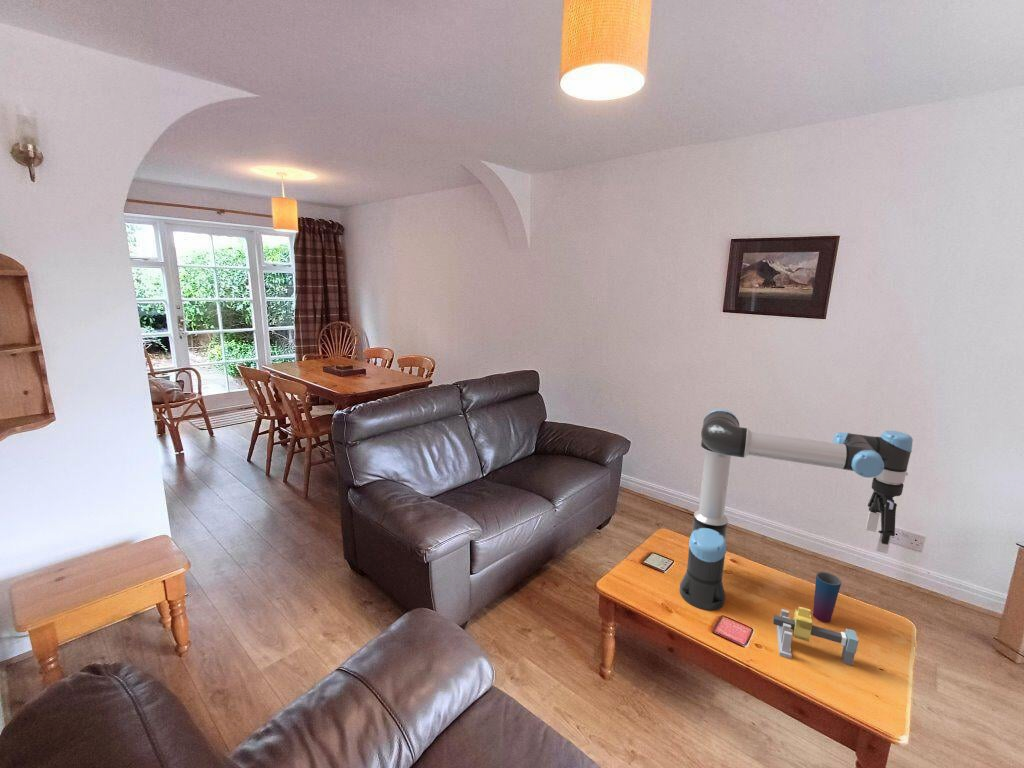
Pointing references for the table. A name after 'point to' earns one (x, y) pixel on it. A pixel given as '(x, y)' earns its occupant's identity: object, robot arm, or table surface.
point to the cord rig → (785, 635)
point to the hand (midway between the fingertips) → (875, 540)
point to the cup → (825, 596)
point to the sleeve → (802, 624)
